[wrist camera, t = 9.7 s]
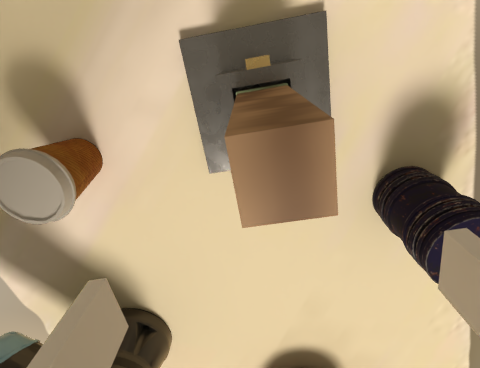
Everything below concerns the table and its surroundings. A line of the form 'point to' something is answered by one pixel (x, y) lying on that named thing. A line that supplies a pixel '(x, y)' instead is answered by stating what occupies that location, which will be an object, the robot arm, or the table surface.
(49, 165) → the disposable coffee cup
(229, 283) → the table surface
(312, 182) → the column
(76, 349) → the robot arm
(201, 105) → the grey socket base
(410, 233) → the storage jar
